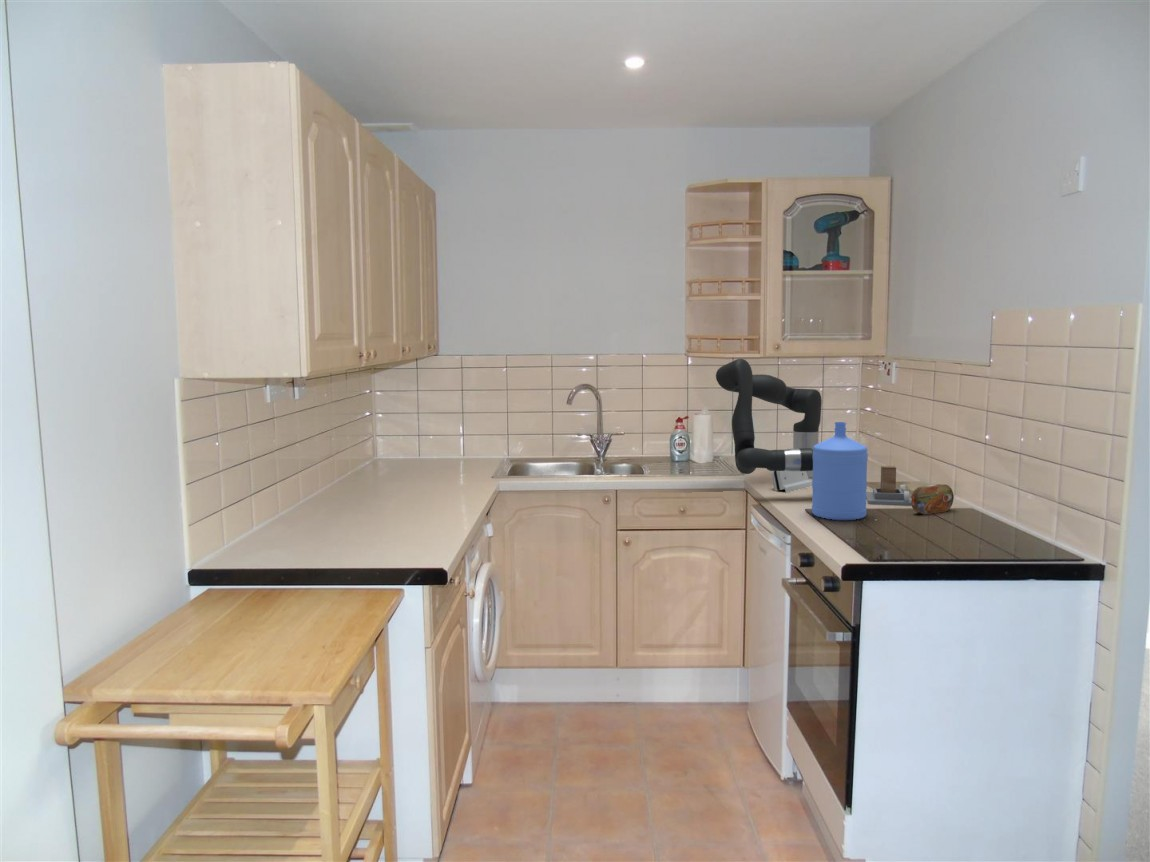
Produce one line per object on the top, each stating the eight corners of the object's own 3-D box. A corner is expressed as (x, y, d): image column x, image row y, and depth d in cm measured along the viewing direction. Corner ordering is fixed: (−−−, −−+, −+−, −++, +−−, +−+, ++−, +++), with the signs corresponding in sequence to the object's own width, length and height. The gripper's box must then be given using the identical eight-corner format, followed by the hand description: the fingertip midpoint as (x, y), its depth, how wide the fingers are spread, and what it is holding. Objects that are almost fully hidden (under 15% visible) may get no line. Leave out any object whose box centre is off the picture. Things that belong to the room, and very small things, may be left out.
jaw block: (880, 495, 264) (881, 465, 263) (893, 495, 263) (894, 465, 262) (882, 498, 260) (882, 467, 259) (895, 498, 259) (896, 467, 258)
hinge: (786, 493, 276) (778, 464, 278) (775, 495, 280) (767, 468, 281) (814, 486, 287) (806, 459, 288) (803, 488, 291) (795, 462, 292)
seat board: (865, 494, 270) (865, 483, 270) (906, 496, 267) (907, 484, 266) (868, 504, 256) (868, 491, 256) (912, 505, 253) (912, 493, 252)
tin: (917, 516, 239) (917, 488, 238) (908, 514, 242) (909, 486, 241) (954, 510, 245) (955, 483, 244) (945, 508, 248) (946, 481, 247)
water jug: (854, 523, 231) (856, 427, 228) (802, 516, 241) (804, 423, 238) (874, 513, 243) (876, 421, 240) (824, 507, 253) (825, 418, 250)
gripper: (801, 452, 257) (854, 451, 255) (794, 445, 271) (843, 443, 269) (801, 475, 258) (853, 474, 256) (794, 467, 272) (843, 465, 270)
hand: (848, 458), depth 263 cm, fingers open, 8 cm apart
